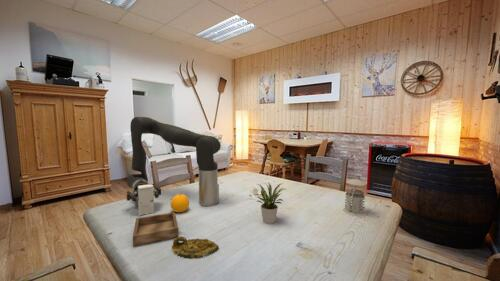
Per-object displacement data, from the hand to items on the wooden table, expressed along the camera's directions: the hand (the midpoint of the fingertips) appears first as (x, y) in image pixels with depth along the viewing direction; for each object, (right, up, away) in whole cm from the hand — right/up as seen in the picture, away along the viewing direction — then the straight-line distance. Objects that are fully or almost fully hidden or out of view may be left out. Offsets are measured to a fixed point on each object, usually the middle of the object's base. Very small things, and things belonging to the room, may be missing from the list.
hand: (146, 198), depth 92 cm
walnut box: (+11, -9, -15) cm, 20 cm away
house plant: (+55, -8, -5) cm, 56 cm away
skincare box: (-1, -7, +2) cm, 7 cm away
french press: (+93, -8, +4) cm, 93 cm away
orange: (+13, -7, +4) cm, 16 cm away
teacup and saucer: (+50, -6, +23) cm, 55 cm away
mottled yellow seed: (+28, -10, -25) cm, 38 cm away
